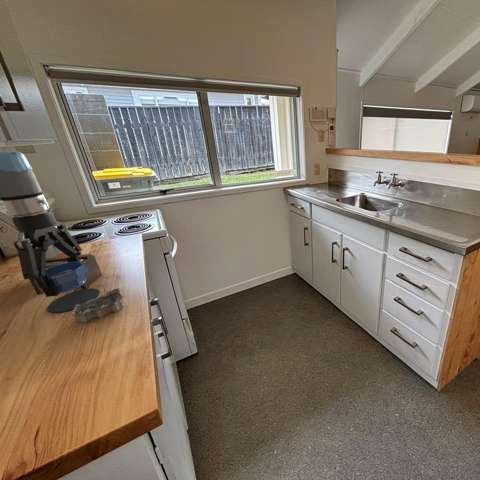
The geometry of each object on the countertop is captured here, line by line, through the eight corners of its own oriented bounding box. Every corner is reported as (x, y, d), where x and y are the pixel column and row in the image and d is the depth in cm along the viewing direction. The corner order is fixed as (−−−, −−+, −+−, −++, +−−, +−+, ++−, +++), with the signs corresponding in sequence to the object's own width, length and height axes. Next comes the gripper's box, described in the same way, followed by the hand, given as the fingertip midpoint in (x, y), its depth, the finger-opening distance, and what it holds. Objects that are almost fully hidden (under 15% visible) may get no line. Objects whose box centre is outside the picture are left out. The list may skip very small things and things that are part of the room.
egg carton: (125, 298, 78) (120, 286, 77) (124, 311, 72) (119, 298, 71) (79, 311, 73) (73, 299, 71) (74, 326, 67) (68, 313, 65)
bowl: (34, 298, 71) (24, 281, 69) (62, 279, 80) (54, 263, 78) (75, 293, 72) (66, 276, 70) (97, 275, 81) (91, 259, 79)
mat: (35, 315, 72) (35, 314, 72) (67, 291, 83) (67, 290, 83) (83, 309, 73) (82, 308, 73) (108, 286, 84) (107, 286, 84)
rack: (37, 294, 82) (23, 269, 79) (58, 279, 90) (47, 256, 87) (85, 288, 84) (74, 264, 80) (102, 274, 92) (92, 252, 89)
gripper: (6, 226, 57) (51, 306, 66) (77, 201, 78) (104, 265, 87) (-33, 229, 57) (18, 310, 65) (50, 203, 77) (80, 268, 86)
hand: (67, 284), depth 76 cm, fingers closed on bowl, 10 cm apart
